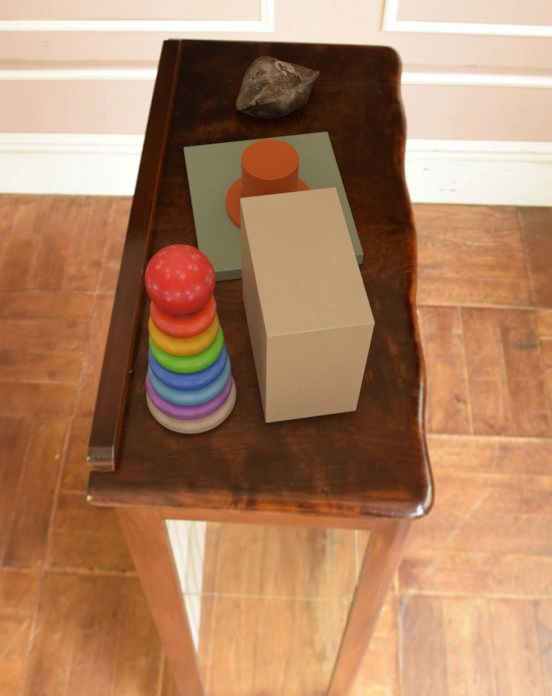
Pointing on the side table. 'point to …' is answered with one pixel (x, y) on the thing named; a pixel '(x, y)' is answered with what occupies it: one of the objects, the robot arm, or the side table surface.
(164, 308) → the stacking toy
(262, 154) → the hat
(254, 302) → the tall cardboard box
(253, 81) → the fossilized seashell
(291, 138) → the stand board
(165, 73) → the side table surface
